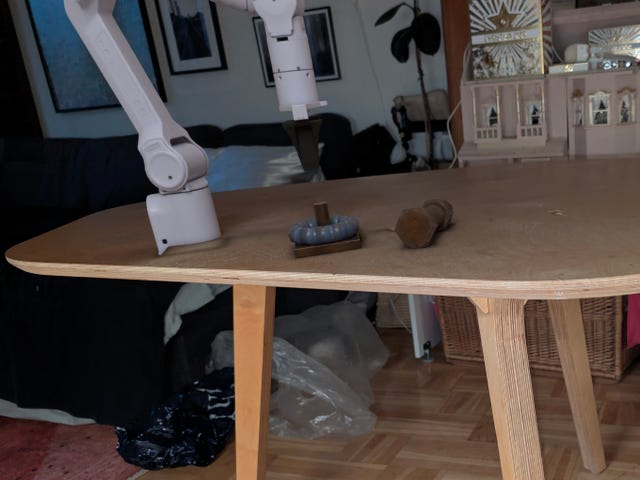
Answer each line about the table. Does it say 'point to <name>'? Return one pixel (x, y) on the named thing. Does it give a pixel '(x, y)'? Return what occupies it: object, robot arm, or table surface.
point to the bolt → (423, 222)
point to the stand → (309, 250)
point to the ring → (324, 230)
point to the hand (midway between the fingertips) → (311, 167)
